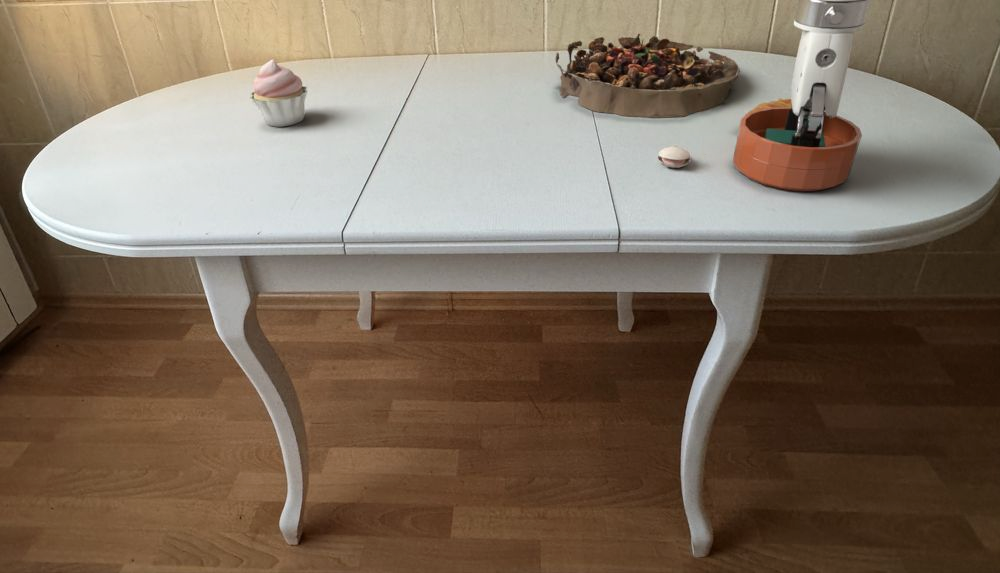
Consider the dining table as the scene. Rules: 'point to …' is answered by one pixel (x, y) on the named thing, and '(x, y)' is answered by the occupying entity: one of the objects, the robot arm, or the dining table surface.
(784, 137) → the sponge
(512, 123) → the dining table surface
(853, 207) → the dining table surface
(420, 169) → the dining table surface
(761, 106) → the pastry
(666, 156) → the macaroon
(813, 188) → the bowl
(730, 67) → the food dish
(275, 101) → the cupcake
